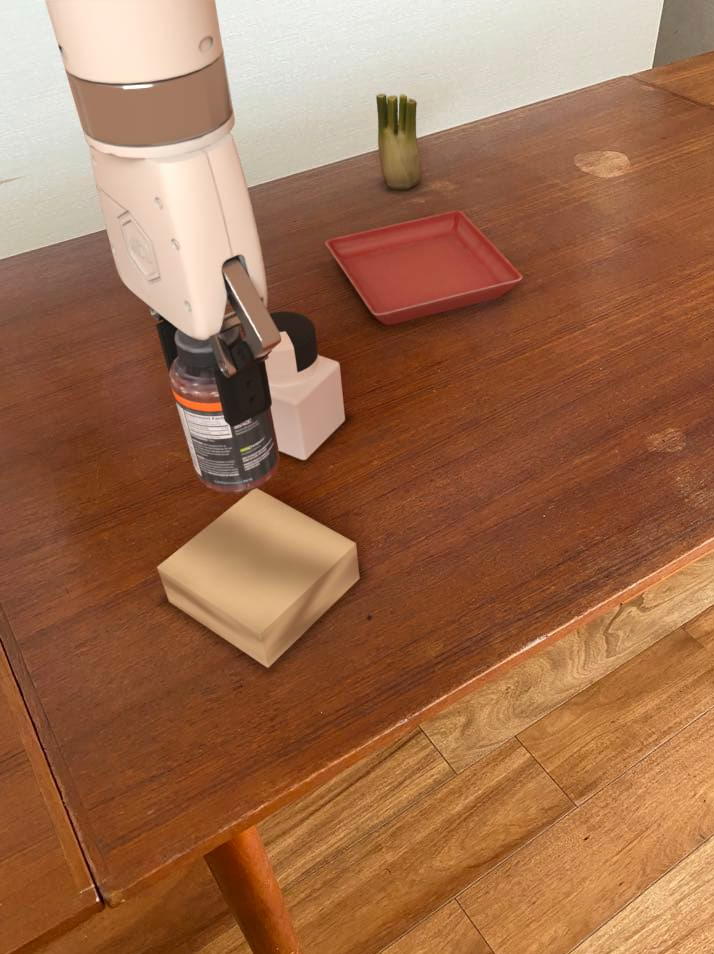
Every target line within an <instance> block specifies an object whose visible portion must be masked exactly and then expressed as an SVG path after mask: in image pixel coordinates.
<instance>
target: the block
mask: <svg viewBox="0 0 714 954" xmlns="http://www.w3.org/2000/svg"><path fill="white" fill-rule="evenodd" d="M156 569H157V572H158V575H159V577H160V579H161V583H162V586H163V588H164V591H165V594H166V597H167V599H168V602H169V603H171V604H172V605H173V606H175V607H176V608H178V609H179V610H181V611H182V612H184V613H186V614H187V615H188V616H189V617H191V618H193V619H194V620H196V621H197V622H198V623H200V624H202V625H203V626H205V627H206V628H208V629H210V631H212V632H214V633H215V634H216V635H218V636H220V637H221V638H223V639H224V640H226V641H227V642H229V643H230V644H232V645H233V646H235V647H236V648H238V650H240V651H242V652H244V653H245V654H247V656H250V658H252V659H254V660H255V661H257V662H259V664H261V665H263V666H264V667H266V668H267V669H268V668H270V667H271V666H272V665H273V664H274V663H275V662H276V661H277V660H278V659H279V658H280V657H281V656H282V655H283V654H284V653H285V652H286V651H287V650H289V648H290V647H291V646H293V644H294V643H296V641H298V639H300V638H301V636H303V634H304V633H306V632H307V631H308V629H310V628H311V626H313V624H315V623H316V622H317V621H318V620H319V619H320V618H321V617H322V616H323V615H324V614H325V613H326V612H327V611H328V610H329V609H330V608H331V607H332V606H333V605H334V604H335V603H336V602H337V601H338V600H339V599H340V598H342V596H343V595H344V594H345V593H346V592H348V590H349V589H350V588H352V586H354V584H356V582H358V580H360V568H359V557H358V547H357V542H355V541H353V540H351V539H349V538H348V537H346V536H343V535H342V534H341V533H339V532H337V531H335V530H333V529H332V528H330V527H328V526H326V525H324V524H322V523H320V522H319V521H317V520H315V519H313V518H311V517H310V516H308V515H306V514H304V513H302V512H300V511H299V510H297V509H295V508H293V507H291V506H290V505H288V504H286V503H284V502H283V501H281V500H279V499H277V498H276V497H274V496H272V495H270V494H268V493H266V492H264V491H263V490H261V489H260V488H256V489H254V490H251V491H248V492H247V494H246V495H244V496H243V497H242V498H240V499H239V500H238V501H236V503H234V504H233V505H231V506H230V507H229V508H228V509H227V510H225V512H223V513H221V515H220V516H218V517H217V518H216V519H214V520H213V521H212V522H210V523H209V524H208V525H207V526H206V527H205V528H203V529H202V530H201V531H200V532H198V533H197V534H196V535H195V536H193V537H192V538H191V539H189V540H188V541H187V542H186V543H185V544H183V545H182V546H181V547H180V548H179V549H177V550H176V551H175V552H174V553H172V554H171V555H170V556H169V557H167V558H166V559H165V560H163V562H161V563H159V564H158V566H156Z"/></svg>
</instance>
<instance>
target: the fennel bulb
mask: <svg viewBox="0 0 714 954" xmlns="http://www.w3.org/2000/svg"><path fill="white" fill-rule="evenodd" d="M375 99H376V109H377V110H376V111H377V148H378V157H379V161H380V162H379V163H380V167H381V173H382V176H383V179H384V182H385V183H386V185H387V187H388V188H389V189H390V190H392V191H397V192H406V191H409V190H410V189H412V188H415V187H416V186H417V185H418V184H419V182H420V180H421V176H422V165H421V154H420V149H419V145H418V138H417V105H418V103H417V100H416V99H414V98H409V97H408V96H407V95H406V94H403V93H401V94H400V95H399V101H398V96H397V95H389V96H387V95H386V93H379V94H376V95H375Z"/></svg>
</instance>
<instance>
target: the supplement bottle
mask: <svg viewBox="0 0 714 954" xmlns="http://www.w3.org/2000/svg"><path fill="white" fill-rule="evenodd" d="M223 334H224V337H225V340H226V342H227V345H228V347H229V350H230V351H231V350H232V349H233V348H234V346H235V345H236V344H238V343H240V342H242V341H243V340H244V339H243V338H242V334H241V327H240V325H238V326H236V327H234V328H232V329H229V330H227V331H225V332H223ZM175 343H176V347H177V354H178V357H177V358H176V359H175V360H174V361H173V363H172V365H171V368H170V374H169V373H168V374H169V375H168V376H169V383H170V387H171V390H172V394H173V398H174V401H175V406H176V409H177V412H178V417H179V420H180V424H181V427H182V430H183V433H184V436H185V441H186V443H187V452H189V456H190V457H191V460H192V466H193V468H194V470H195V473H196V476H197V478H198V479H199V481H200V482H201V483H202V484H203V486H205V487H206V488H208V489H210V490H211V491H214V492H217V493H221V494H228V495H229V494H231V495H232V494H234V495H237V494H242V493H248V492H250V491H252V490H254V489H256V488H257V489H259V488H260V487H262V486H264V485H265V484H266V483H267V482H269V481H270V480H271V479H272V478H273V477H274V476H275V474H276V472H277V471H278V468H279V466H280V451H278V444H277V439H276V433H275V429H274V423H273V418H272V412H271V407H270V408H269V409H268V410H266V411H264V412H262V413H260V414H258V415H256V416H254V417H252V418H250V419H249V420H247V421H245V422H243V423H241V424H239V425H237V426H235V427H231V426H230V425H229V424H227V423H226V422H225V420H224V415H223V411H222V406H221V402H220V398H219V393H218V389H217V384H216V380H215V376H214V372H215V371H217V370H218V369H220V368H219V366H218V363H217V361H216V358H215V356H214V353H213V350H212V348H211V345H210V343H209V340H208V339H207V340H198V339H195V338H192V337H190V336H188V335H187V334H185V333H184V332H182V331H181V330H179V329H178V330H177V331H176V333H175Z"/></svg>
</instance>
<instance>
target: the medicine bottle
mask: <svg viewBox="0 0 714 954" xmlns="http://www.w3.org/2000/svg"><path fill="white" fill-rule="evenodd" d="M269 314H270V316H271V318H272V320H273V322H274V323H275V325H276V327H277V329H278V331H279V333H280V335H281V342H280V343H279V344H278V345H277V346H276V347H275V348H274V349H272V351H271V353H270V354H268V359H267V360H265V365H266V371H267V376H268V382H269V388H270V394H271V399H272V405H271V412H272V418H273V423H274V429H275V433H276V439H277V444H278V451H279V452H281V453H283V454H286V455H287V456H291V457H293V458H296V459H298V460H301V461H306V460H308V459H309V457H311V455H312V454H313V453H314V452H315V451H316V450H317V449H319V448H320V446H322V444H323V443H324V442H325V441H326V440H328V438H329V437H331V435H333V433H334V432H335V431H336V430H337V429H338V428H339V427H340V426H341V425H342V424H343V423H344V422H345V421H346V413H345V404H344V395H343V386H342V385H343V384H342V376H341V375H342V374H341V364H340V363H339V361H338V360H334V359H331V358H328V357H325V356H323V355H319V349H318V348H319V347H318V341H317V332H316V326H315V324H314V322H313V321H312V320H311V319H309V317H307V316H306V315H304V314H302V313H299V312H295V311H287V310H285V311H284V310H283V311H275V312H270V313H269Z"/></svg>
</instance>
